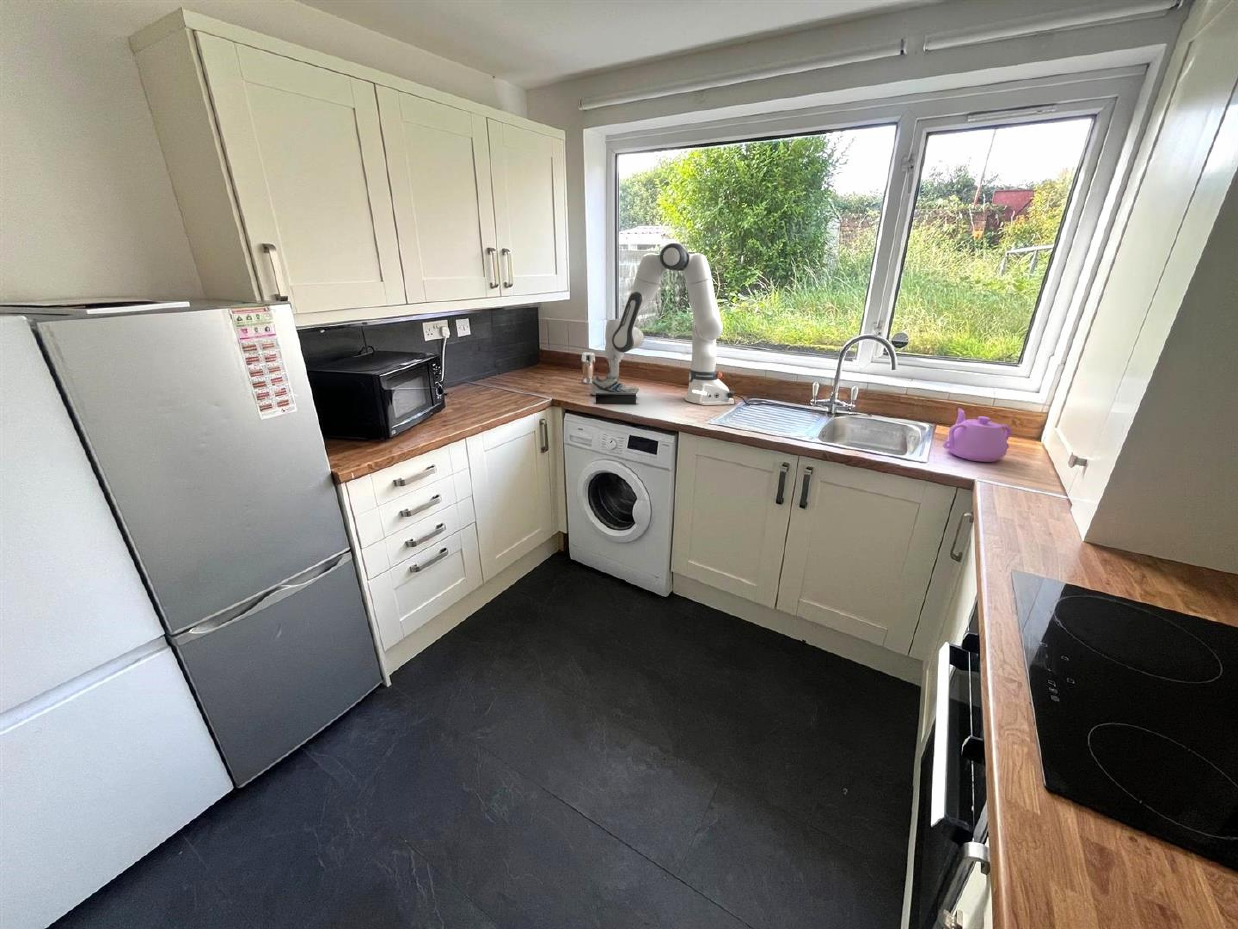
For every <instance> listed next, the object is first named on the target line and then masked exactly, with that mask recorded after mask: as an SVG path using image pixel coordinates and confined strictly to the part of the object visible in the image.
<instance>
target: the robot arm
mask: <svg viewBox="0 0 1238 929" xmlns="http://www.w3.org/2000/svg"><path fill="white" fill-rule="evenodd" d="M667 270H669V271H677V272H678V271H679V272H682V273H683V276H684V279H685V285H686V291H687V296H688V301H689V306H690V308H691V311H692V316H693V320H692V325H691V326H692V327H691V348H692V349H691V363H690V368H689V373H688V387H687V392H686V394H685V397H684V400H685V401H687V402H689V403H692V404H697V405H701V406H719V405H723V406H724V405H734V404H735V399H734V397H737V398H740V399H741V400H742V401H743V402H744V404H745V405H748V406H760V405H763V406H764V405H767V406H776V407H784V408H791V409H798V410H804V411H812V412H818V413H825V414H830V413H829V412H830V411H829V410H828V411H829V412H828V411H827V410H820V409H814V408H807V407H802V406H795V405H790V404H789V405H787V404H779V403H770V402H758V403H750V402H747V401H746V400H745V398H744V397H742V396H741V395H739V394H736V393H735V390H730V389H729V387H728V386H727V385H726V384H725V383H724V382H723V381H722V380H720V378H722V377H723V373H721V372H720V371H717V369H716V367H717V358H718V357H717V356H718V350H717V339H718V338H719V337H721V335H722V333H723V332H724V326H723V321H722V317H721V313H720V310H719V305H718V302H717V299H716V294H715V289H714V282H713V278H712V272H711V267H710V264H709V262H708V259H707V257H706V256H705V254H703V253H699V252H695V253H690V252H688V248H687V247H686V245H685V244H683V243H681V242H679V241H670V242H668V243H666V244H665V245H663V247H662V248H661V250H660V251H659V253H653V252H649V253H646V254H644V255H643V256H642V257H641V260H640V263H639V266H638V267H637V271H636V272H635V278H634V280H633V283H632V284H633V285H632V287H631V291H630V294H629V297H628V299H627V301H626V304H625V307H624V310H623V314H622V316H621V318H615V319H610V320H608V321H606V325H605V333H604V335H605V336H604V338H605V346H604V358H605V359H606V360H607V363H608V369H609V373H611V377H618V378H619V376H620V363H621V362H622V359H624V357H625V356H624V355H625V354H626V353H627V352H629V351H631V350H634V349H637V348H639V347H640V346H642V345H643V343H644V342H645V341H644V340H645V335H644V332H643V331H642V329H640V328H639V327H637V326H636V327H635V325H636V323H637V319H638V316H639V314H640V312H641V310H642V309H643V308H644V307H645V306H646V305H647V304H649V303H650V302H651V301H653V300H654V299H655V297H656V295H657V293H658V290H659V289H660V284H661V282H662V281H661V280H662V277H663V275H664V273H665V272H666V271H667ZM624 353H625V354H624ZM834 412H835V413H834V414H833V415H843V416H859V415H861V414H857V413H858V412H857V413H852V412H851V413H852V414H849V412H837V411H834ZM867 415H868V416H869V415H871V416H872V414H871V413H869V414H867Z"/></svg>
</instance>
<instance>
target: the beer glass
mask: <svg viewBox="0 0 1238 929" xmlns="http://www.w3.org/2000/svg"><path fill="white" fill-rule="evenodd" d="M595 356H596V354H595V353H594V352H582V353H581V370H582V384H586V385H588V384H589V385H591V383H592V379H593V378H594V373H595V368H596V357H595Z"/></svg>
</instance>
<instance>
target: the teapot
mask: <svg viewBox="0 0 1238 929" xmlns="http://www.w3.org/2000/svg"><path fill="white" fill-rule="evenodd" d="M957 411H958V415H957V416H958V417H957V419H956V422H955V423H954V424H953V425H952V426H951V427H949V430H948V437H947V438H946V440H945V441H944V442H943V443H942V446H943V448H944V449H945V450H948V451H949V452H950V453H951V454H952V455H953V456H957V457H959V458H962V459H965V460H966V461H971V462H972V461H975V462H983V463H984V462H985V463H986V462H987V463H991V462H997V461H999V460H1001V459H1002V458H1004V457H1005V456H1006V455H1007V451H1008V449H1009V448H1010V447H1009V443H1008V440H1009V438H1010V436H1011V434H1012V429H1011V427H1010V426H1009V425H1007V424H999V423H996V422H993V421H990V420H991V418H990V417H988V416H983V415H979V416H977V419H975V418H969V419H966V412H965V411H964V409H962V408H961V407H957ZM1004 429H1005V431H1004Z"/></svg>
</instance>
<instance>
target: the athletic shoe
mask: <svg viewBox="0 0 1238 929" xmlns="http://www.w3.org/2000/svg"><path fill="white" fill-rule="evenodd" d="M639 391H640V389H639V387H638V386H637V385H633V386H627V385H626V384H623V383H622V382H621V381H620V380H619V377H611V373H610V372H608V373H607V374H606V378H602V379H601V378H600V377H599V376H598V375H595V376H593V379H592V383H591V384H590V388H589V394H590V395H591V396H594V397H596V392H636V395H637V394H638V393H639Z"/></svg>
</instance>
